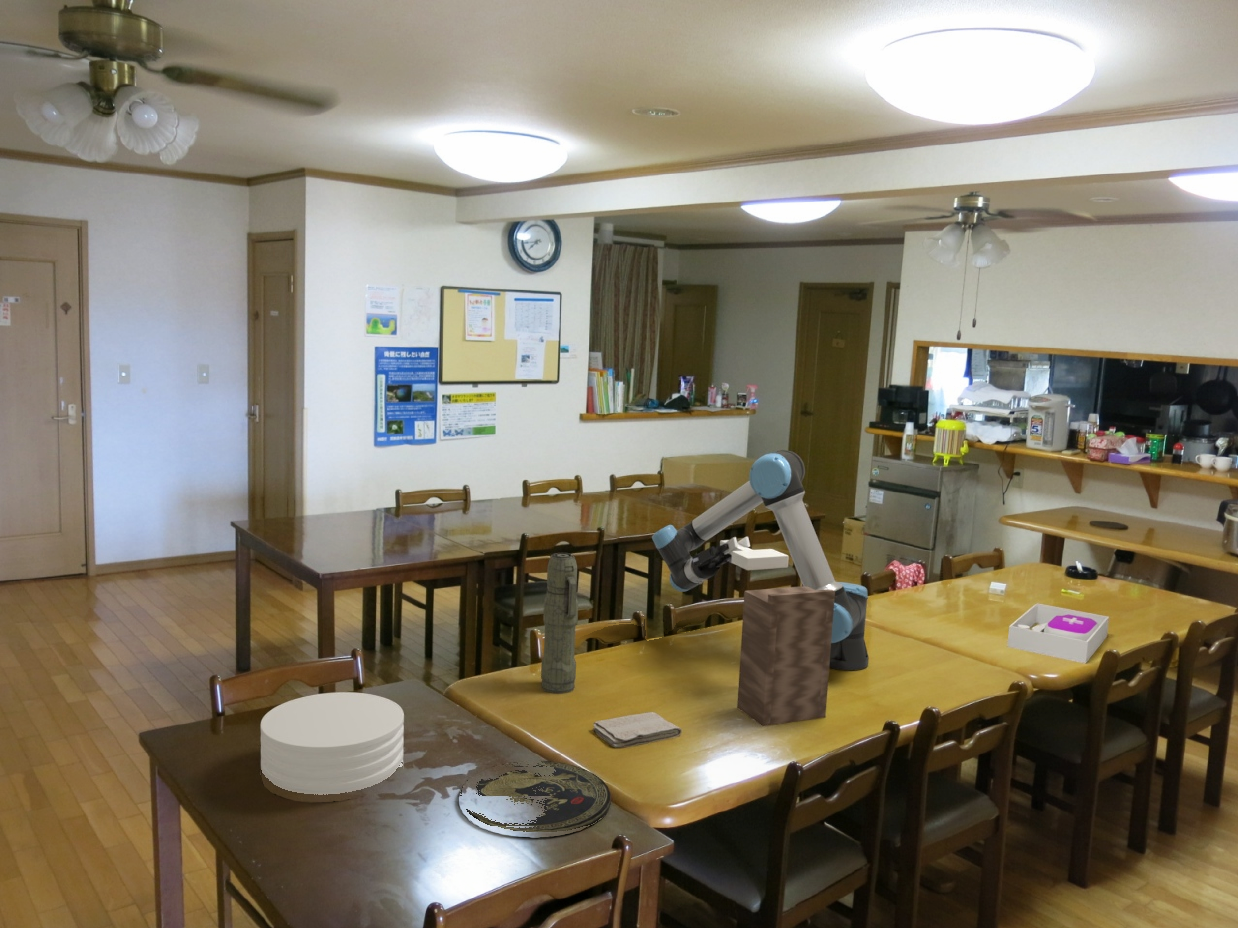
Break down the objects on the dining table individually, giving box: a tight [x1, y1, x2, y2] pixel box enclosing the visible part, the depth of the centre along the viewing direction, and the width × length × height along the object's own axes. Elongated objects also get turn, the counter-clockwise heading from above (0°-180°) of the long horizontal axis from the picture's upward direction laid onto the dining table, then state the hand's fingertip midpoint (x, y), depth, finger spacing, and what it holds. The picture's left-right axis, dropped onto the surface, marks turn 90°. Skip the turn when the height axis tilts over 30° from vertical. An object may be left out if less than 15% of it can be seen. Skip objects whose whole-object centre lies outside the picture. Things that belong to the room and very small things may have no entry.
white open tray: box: [1006, 603, 1110, 664], centre depth 310 cm, size 22×35×7 cm, turn 144°
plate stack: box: [260, 691, 405, 795], centre depth 200 cm, size 28×28×12 cm
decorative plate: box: [459, 760, 612, 832], centre depth 192 cm, size 30×2×30 cm
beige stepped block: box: [719, 539, 790, 571], centre depth 256 cm, size 12×22×3 cm, turn 24°
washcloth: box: [592, 711, 682, 749], centre depth 225 cm, size 12×18×3 cm, turn 121°
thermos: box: [540, 552, 579, 695], centre depth 249 cm, size 9×12×35 cm
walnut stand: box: [736, 585, 835, 727], centre depth 239 cm, size 18×12×32 cm, turn 114°
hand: (741, 541), depth 257 cm, fingers closed on beige stepped block, 3 cm apart
